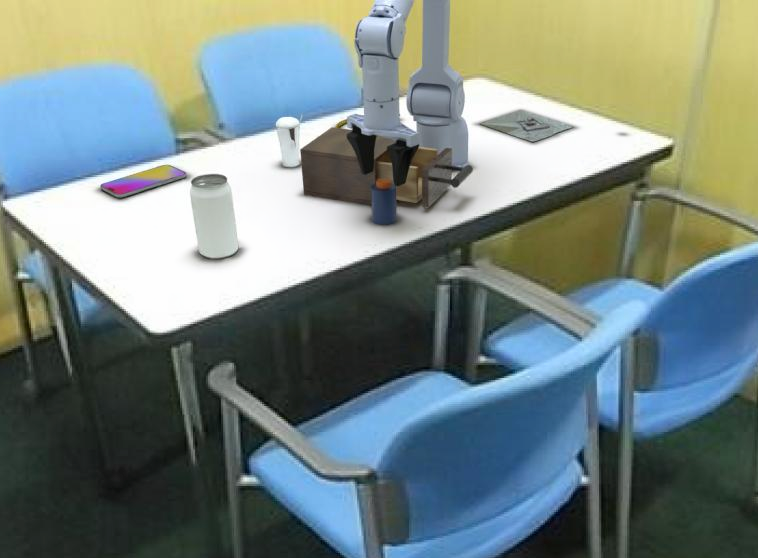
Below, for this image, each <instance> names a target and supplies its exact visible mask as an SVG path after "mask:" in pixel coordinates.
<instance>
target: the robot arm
mask: <svg viewBox="0 0 758 558" xmlns="http://www.w3.org/2000/svg"><path fill="white" fill-rule="evenodd" d="M414 3H415V0H374V1H373V3H372V6H371V8H370V10H369V13H368V15H367V16H364V17H363V18H362V19H359V21H358V22H357V24H356V26H355V31H354V40H353V42H354V49H355V53H356V55H357V60H358V67H359V68H360V69H361V73H362V75H361V76H362V98H363V114H359V113H353V114H350V115H347V116H346V119H347V123H346V125H347V127H346V129H350V130H352V132H350V133H348V134H347V139H348V141H349V142H350V144H351V145H352V147H353V149H354V151H355V154H356V156H357V159H358V162H359V165H360V169H361V172H362V174H363V175H366V174H369V173H371V172H373V169H374V149H375V141H376V137H377V135H379V136H382V137H385V138H389V139H392V140H395V141H396V144H392V145H389V146H387V150H388V153H389V155H390V158H391V162H392V168H393V181H394V185H395V186H400V185H402V184H405V183H406V179H407V175H408V171H409V167H410V164H411V161H412V159H413V157H414V155H415V153H416V151H417V149H418V148H419V147H426V148H434V149H438V154H440V153H441V152H442V151H443V150H444V149H445V148H452V166H457V167H465V166H466V165H470V164H469V128H468V124H467V121H466V120H465V118H464V117H463V116H462V115H463V112H464V108H465V103H466V101H465V100H466V95H465V89H464V80H463V79H464V78H463V76H462V75H461V74H460V73H459V72H458V71H456V70H455V69H454V68H453V67H452V66H451V65H450V64H449V61H450V29H451V28H450V25H451V21H450V19H451V0H422V32H421V33H422V34H421V36H422V37H421V39H422V40H421V43H422V44H421V55H422V56H421V66H420V67H419V68H417V69H416V70H414V71H413V72H412V73H411V75H410V76H409V79H408V87H407V93H406V101H405V103H406V108H407V112H408V113H409V115H410V116H412V117H413V119H412V120H413V122H416V130H414V129H412V128H410V127H409V126H407V125H405V124H404V123H403V122H401V121H400V120H401V119H400V118H401V113H400V74H399V73H400V71H399V69H400V68H399V67H400V66H399V57H400V56H401V55H402V52H403V50H404V45H405V36H406V34H407V33H406V32H407V27H406V23H407V21H408V18H409V16H410V13H411V10H412V8H413V5H414Z"/></svg>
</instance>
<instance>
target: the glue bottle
mask: <svg viewBox="0 0 758 558" xmlns="http://www.w3.org/2000/svg"><path fill="white" fill-rule="evenodd" d="M371 198H372V205H371V220H372V222H373V223H374V224H377V225H381V226H382V225H384V226H386V225H387V226H388V225H391V224H395V223H396V222H397V221H398V219H397V218H398V213H397V212H398V208H397V207H398V206H397V200H396V186H395V185H394V184H393V183H391V181H390V179H387V178H381V179H378V180H377V181H376V183H375V184H373V185H372V186H371Z"/></svg>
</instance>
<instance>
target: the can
mask: <svg viewBox="0 0 758 558" xmlns="http://www.w3.org/2000/svg"><path fill="white" fill-rule="evenodd" d="M190 184H191V186H190V189H189V198H190V205H191V210H192V217H193V223H194V230H195V235H196V242H197V248H198V253H199V254H201V256H203V257H204V258H207V259H212V260H218V259H225V258H228V257H231V256H233V255H235V254H236V253H237V251H238V250H239V238H238V237H239V236H238V229H237V221H236V214H235V207H234V200H233V199H234V198H233V192H232V187H231V185H230V183H229V181H228V177H227V176H225V175H223V174H220V173H205V174H204V173H203V174H200V175H197V176H195V177H193V178H192V179H191V180H190Z"/></svg>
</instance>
